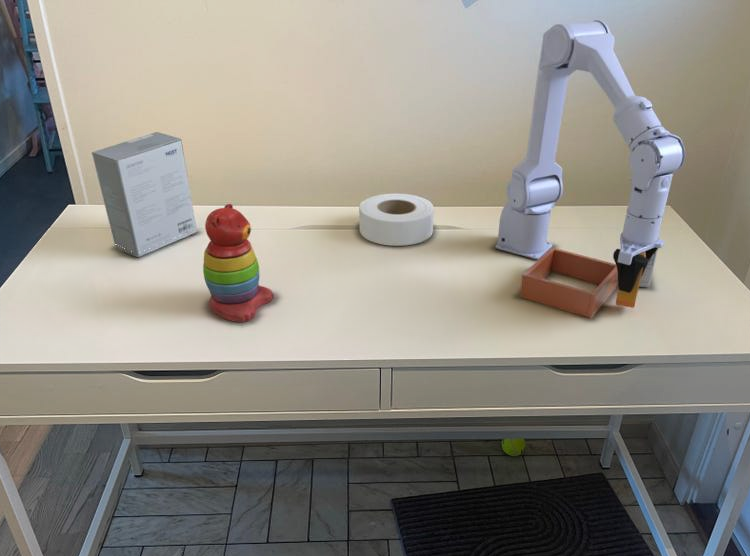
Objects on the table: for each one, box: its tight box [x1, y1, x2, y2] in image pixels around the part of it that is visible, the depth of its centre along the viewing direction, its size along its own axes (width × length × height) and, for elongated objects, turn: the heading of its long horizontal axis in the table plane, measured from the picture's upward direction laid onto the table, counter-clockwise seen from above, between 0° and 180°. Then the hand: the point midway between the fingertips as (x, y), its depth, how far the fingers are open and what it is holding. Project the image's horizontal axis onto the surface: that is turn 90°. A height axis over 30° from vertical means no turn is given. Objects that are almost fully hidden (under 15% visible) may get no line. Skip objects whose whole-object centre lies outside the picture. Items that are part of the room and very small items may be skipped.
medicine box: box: [639, 248, 659, 289], centre depth 134 cm, size 8×4×9 cm, turn 168°
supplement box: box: [615, 251, 646, 309], centre depth 123 cm, size 3×3×10 cm
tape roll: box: [358, 193, 435, 247], centre depth 151 cm, size 16×16×6 cm
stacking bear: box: [202, 203, 275, 323], centre depth 121 cm, size 11×10×18 cm
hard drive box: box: [91, 131, 198, 258], centre depth 142 cm, size 16×8×20 cm, turn 144°
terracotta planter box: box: [519, 246, 618, 319], centre depth 131 cm, size 14×14×4 cm
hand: (628, 285), depth 124 cm, fingers closed on supplement box, 3 cm apart
